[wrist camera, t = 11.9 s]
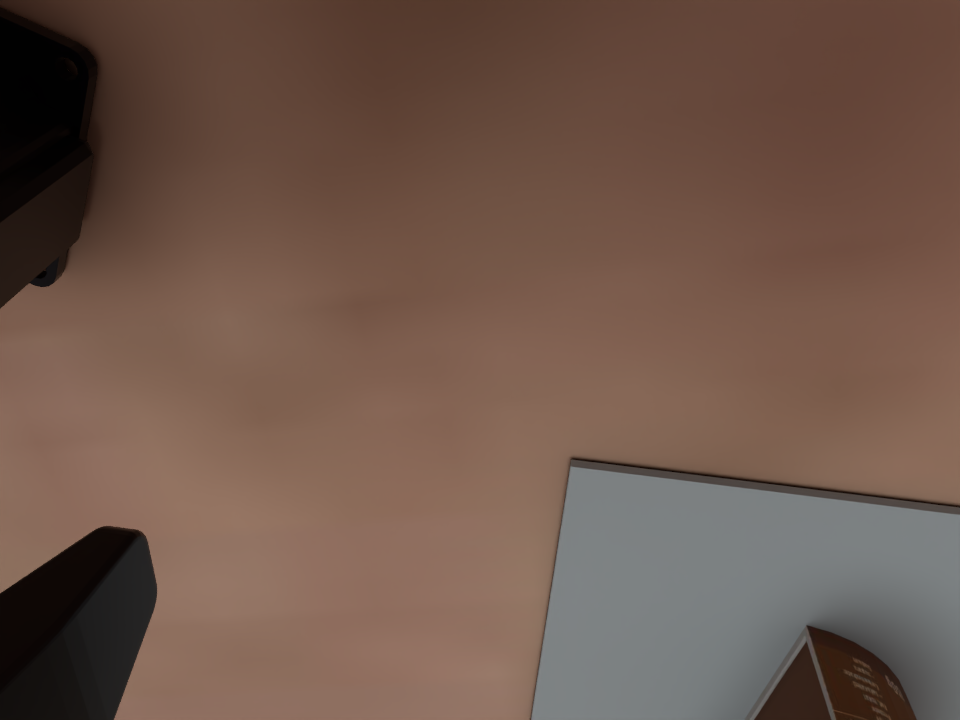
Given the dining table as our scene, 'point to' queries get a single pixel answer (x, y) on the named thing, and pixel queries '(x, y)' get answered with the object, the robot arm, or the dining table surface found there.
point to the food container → (831, 683)
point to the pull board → (738, 593)
